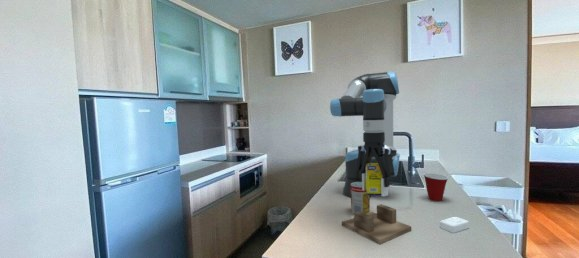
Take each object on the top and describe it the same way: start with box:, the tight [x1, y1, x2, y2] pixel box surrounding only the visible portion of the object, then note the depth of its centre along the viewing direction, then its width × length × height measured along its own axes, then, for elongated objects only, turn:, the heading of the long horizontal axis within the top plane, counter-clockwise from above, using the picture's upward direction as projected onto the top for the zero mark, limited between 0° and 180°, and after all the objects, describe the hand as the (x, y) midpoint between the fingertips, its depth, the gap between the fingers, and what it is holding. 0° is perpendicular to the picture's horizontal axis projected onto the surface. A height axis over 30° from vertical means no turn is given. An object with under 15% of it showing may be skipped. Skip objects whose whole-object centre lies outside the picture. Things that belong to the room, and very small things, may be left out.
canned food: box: [350, 182, 371, 214], centre depth 114 cm, size 8×8×12 cm
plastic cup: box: [423, 172, 450, 202], centre depth 125 cm, size 11×11×12 cm
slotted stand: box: [341, 204, 412, 245], centre depth 97 cm, size 18×17×6 cm
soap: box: [439, 216, 470, 234], centre depth 95 cm, size 9×6×3 cm, turn 113°
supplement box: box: [366, 163, 383, 197], centre depth 96 cm, size 6×6×11 cm
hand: (374, 192), depth 96 cm, fingers closed on supplement box, 8 cm apart
